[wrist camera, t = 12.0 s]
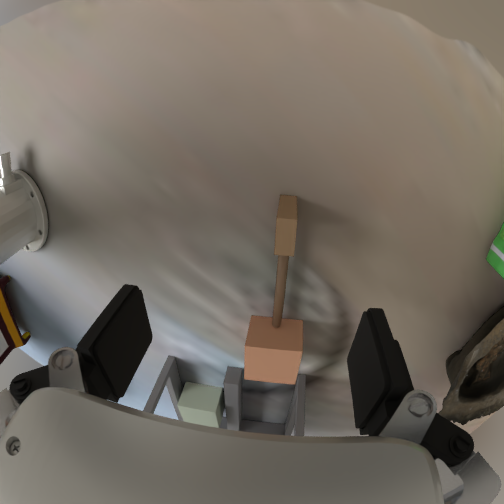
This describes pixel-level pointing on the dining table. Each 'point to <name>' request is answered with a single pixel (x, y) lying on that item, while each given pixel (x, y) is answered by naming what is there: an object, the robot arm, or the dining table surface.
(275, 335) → the tied block
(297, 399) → the lane shelf
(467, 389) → the stone bowl
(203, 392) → the sage block
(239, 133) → the dining table surface
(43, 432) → the robot arm
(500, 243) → the green tapered cylinder
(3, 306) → the decorative lantern
